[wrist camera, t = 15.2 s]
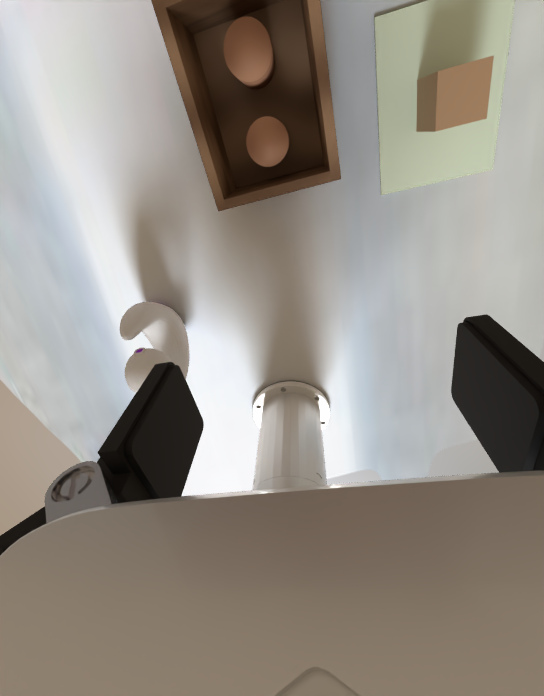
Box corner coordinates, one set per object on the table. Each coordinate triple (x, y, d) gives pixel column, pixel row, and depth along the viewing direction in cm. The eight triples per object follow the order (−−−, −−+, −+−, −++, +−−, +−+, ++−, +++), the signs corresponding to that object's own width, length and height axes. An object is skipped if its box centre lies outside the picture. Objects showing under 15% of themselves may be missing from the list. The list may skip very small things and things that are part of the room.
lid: (488, 168, 33) (521, 174, 28) (379, 193, 35) (393, 203, 30) (512, -25, 26) (563, -61, 21) (372, 20, 28) (389, -4, 23)
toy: (132, 291, 43) (65, 356, 30) (177, 274, 41) (126, 335, 29) (175, 356, 48) (134, 433, 36) (217, 343, 47) (189, 420, 34)
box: (331, 170, 34) (341, 178, 27) (232, 196, 36) (218, 211, 29) (307, -20, 26) (311, -72, 20) (183, 27, 28) (149, -5, 22)
